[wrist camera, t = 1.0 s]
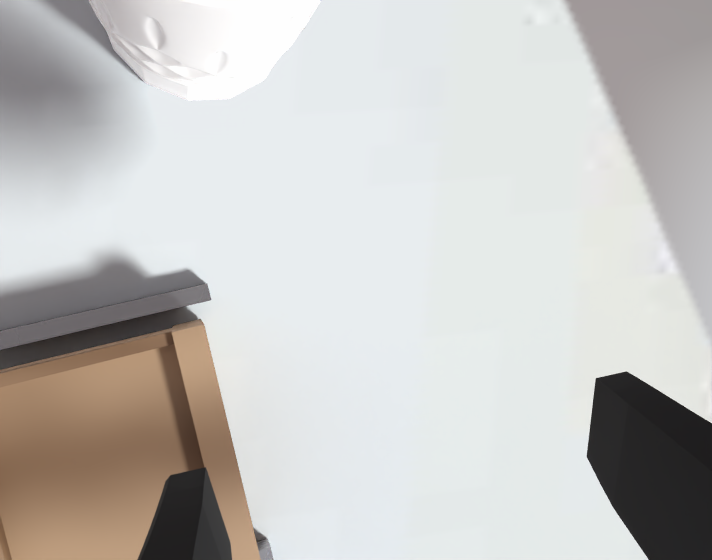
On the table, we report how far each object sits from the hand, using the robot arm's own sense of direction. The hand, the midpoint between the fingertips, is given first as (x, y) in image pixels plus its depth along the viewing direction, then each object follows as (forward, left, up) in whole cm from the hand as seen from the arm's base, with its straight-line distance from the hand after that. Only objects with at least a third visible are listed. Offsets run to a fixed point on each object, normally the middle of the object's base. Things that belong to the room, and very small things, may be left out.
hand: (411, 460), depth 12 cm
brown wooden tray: (-1, +7, -13) cm, 15 cm away
